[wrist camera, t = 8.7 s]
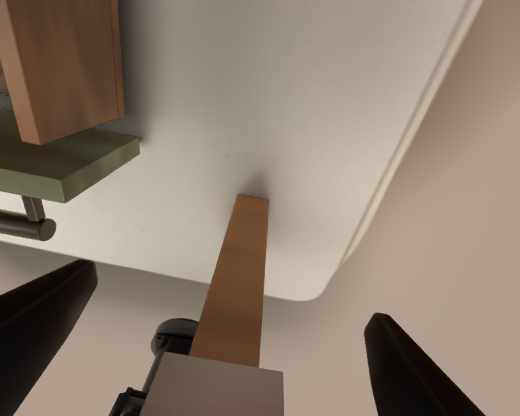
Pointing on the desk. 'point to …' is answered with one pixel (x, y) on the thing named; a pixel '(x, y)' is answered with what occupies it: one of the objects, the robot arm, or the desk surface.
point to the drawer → (58, 105)
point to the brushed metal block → (213, 389)
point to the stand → (236, 289)
